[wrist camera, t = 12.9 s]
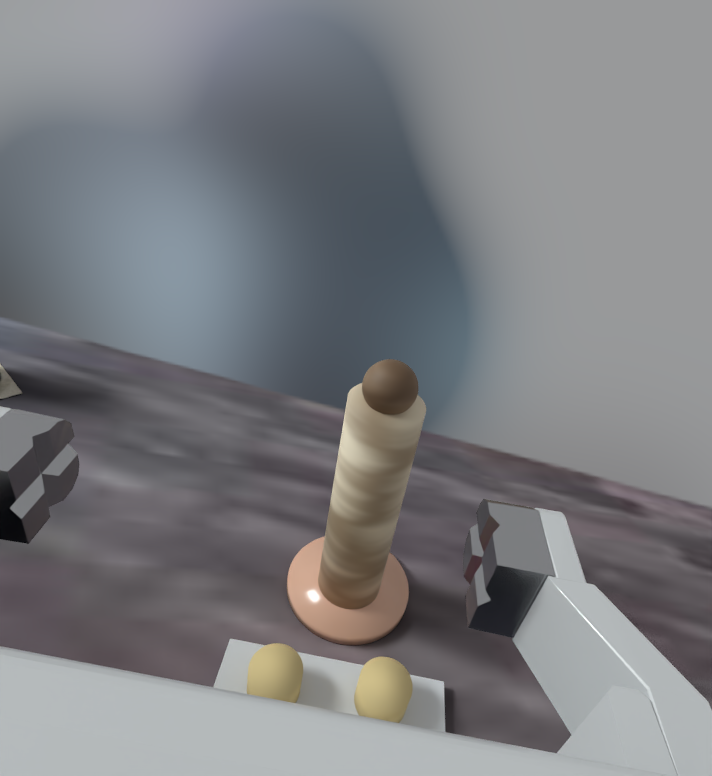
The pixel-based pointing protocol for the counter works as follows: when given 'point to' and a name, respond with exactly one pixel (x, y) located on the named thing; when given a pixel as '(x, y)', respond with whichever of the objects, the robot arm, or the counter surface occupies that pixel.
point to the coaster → (340, 621)
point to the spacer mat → (333, 684)
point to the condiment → (7, 385)
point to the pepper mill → (370, 482)
